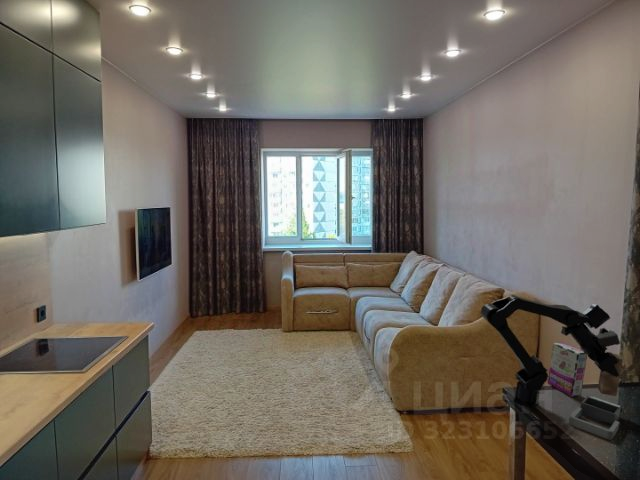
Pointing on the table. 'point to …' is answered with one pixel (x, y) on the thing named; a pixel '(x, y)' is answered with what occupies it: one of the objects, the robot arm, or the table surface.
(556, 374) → the candy bar box
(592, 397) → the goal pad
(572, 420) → the grey shallow tray
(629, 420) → the table surface
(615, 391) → the walnut block
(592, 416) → the trap bin
